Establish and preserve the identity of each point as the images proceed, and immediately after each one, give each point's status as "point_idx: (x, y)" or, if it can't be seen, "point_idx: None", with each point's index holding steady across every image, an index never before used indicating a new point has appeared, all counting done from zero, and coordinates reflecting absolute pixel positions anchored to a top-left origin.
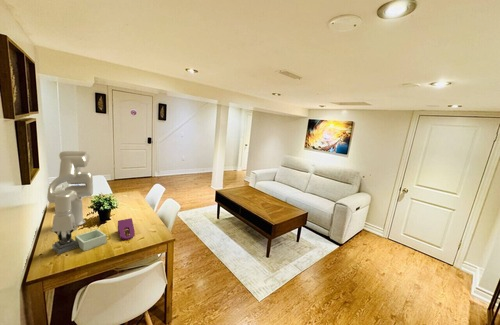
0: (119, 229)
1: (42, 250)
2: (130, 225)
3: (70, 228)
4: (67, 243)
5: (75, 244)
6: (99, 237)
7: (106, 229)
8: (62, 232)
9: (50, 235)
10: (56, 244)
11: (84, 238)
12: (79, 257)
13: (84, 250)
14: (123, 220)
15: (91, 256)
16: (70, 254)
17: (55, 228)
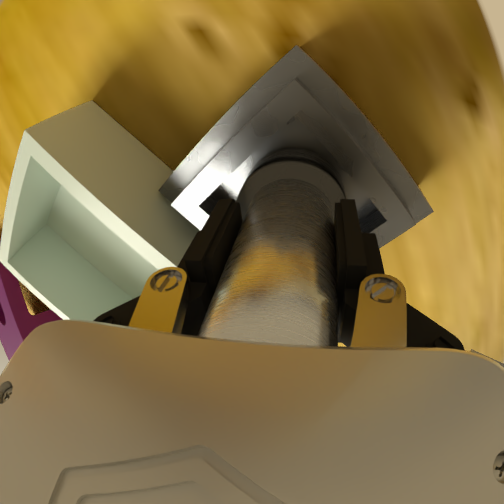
0: (12, 315)
1: (484, 176)
2: (1, 334)
3: (20, 358)
4: (234, 161)
5: (173, 173)
6: (2, 229)
7: None
8: (275, 315)
9: None
10: (378, 171)
11: None
12: (76, 13)
13: (84, 105)
14: None
15: (18, 45)
16: (172, 44)
17: (459, 461)
